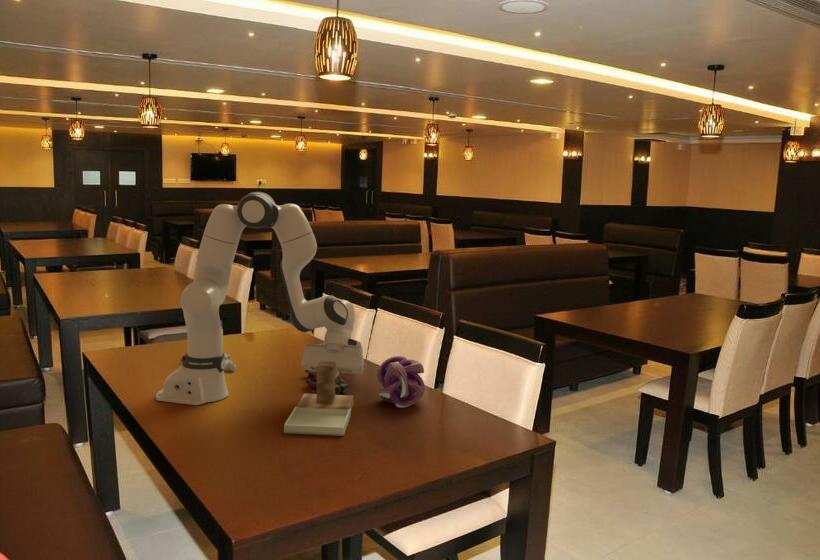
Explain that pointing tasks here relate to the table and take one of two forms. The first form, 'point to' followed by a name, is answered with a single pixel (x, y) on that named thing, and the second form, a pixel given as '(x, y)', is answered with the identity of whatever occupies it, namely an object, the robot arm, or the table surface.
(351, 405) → the oak board
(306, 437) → the table surface
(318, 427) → the tray
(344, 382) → the figurine
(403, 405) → the sculpture
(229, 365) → the male figure
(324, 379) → the walnut block
